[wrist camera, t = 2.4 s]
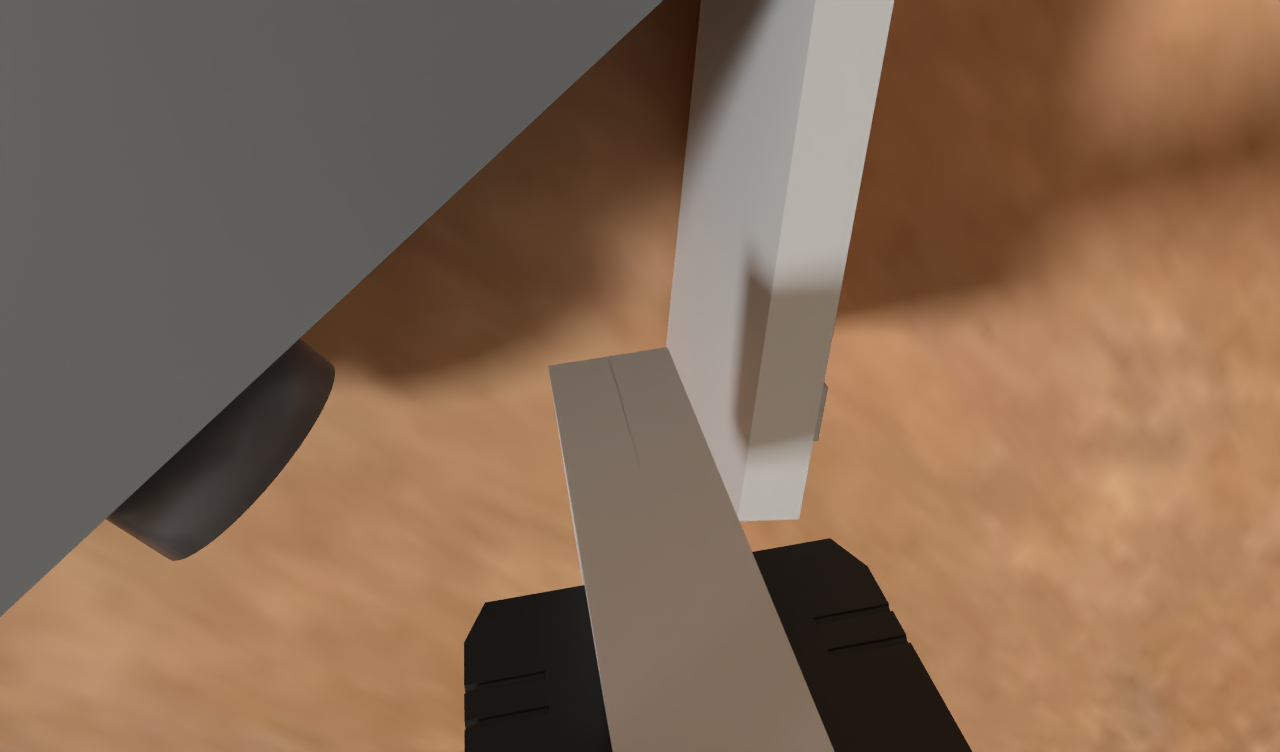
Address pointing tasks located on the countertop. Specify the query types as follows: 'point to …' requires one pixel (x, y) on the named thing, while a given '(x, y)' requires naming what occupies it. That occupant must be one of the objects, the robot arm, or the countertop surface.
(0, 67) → the box with round dial
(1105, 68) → the countertop surface
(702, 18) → the side door
